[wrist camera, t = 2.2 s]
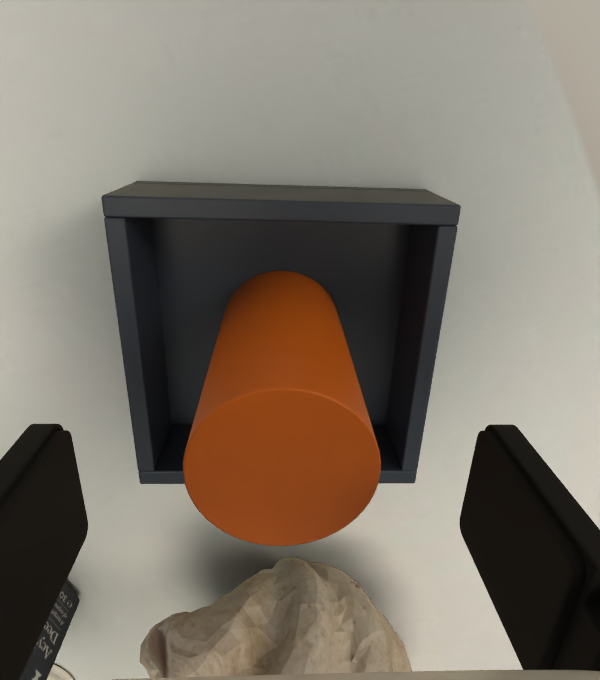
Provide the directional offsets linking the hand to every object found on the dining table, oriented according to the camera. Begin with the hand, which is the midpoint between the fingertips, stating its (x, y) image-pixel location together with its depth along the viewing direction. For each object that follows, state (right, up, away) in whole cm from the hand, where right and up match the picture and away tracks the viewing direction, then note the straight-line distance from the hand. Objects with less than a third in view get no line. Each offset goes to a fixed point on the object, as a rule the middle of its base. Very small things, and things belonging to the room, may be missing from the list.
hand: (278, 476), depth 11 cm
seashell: (0, -11, +15) cm, 18 cm away
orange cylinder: (0, +4, +7) cm, 8 cm away
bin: (0, +4, +8) cm, 9 cm away
